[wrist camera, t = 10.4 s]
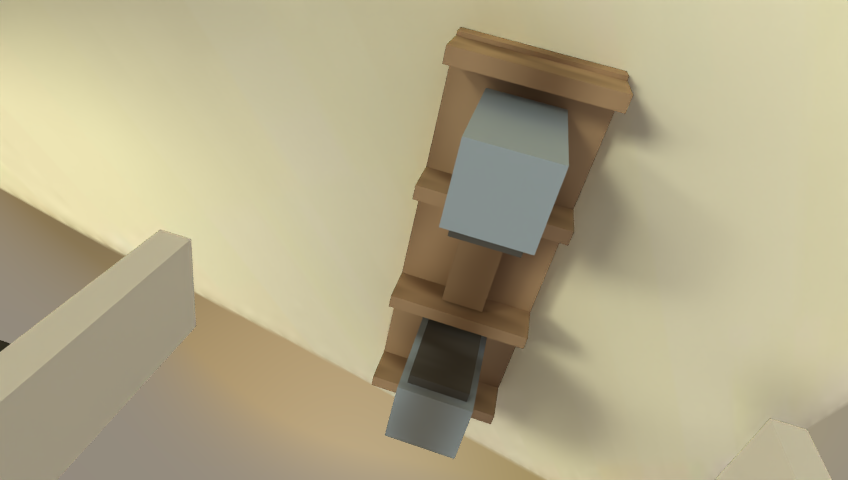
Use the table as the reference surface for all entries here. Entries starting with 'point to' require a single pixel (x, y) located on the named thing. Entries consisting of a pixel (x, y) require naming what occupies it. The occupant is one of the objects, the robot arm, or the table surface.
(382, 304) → the table surface
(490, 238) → the blue gray block
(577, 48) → the table surface
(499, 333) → the wooden block holder
